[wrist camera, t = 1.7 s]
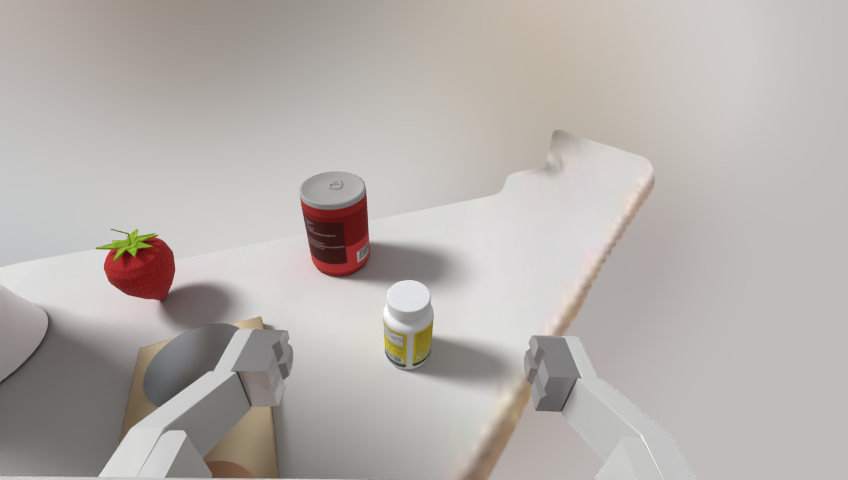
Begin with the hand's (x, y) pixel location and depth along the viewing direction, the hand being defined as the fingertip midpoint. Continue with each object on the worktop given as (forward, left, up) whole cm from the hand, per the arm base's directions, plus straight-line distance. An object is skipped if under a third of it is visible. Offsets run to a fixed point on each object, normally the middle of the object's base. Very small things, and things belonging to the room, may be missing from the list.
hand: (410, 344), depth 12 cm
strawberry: (-18, +31, -22) cm, 42 cm away
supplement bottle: (+6, +14, -22) cm, 27 cm away
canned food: (+3, +31, -22) cm, 38 cm away
